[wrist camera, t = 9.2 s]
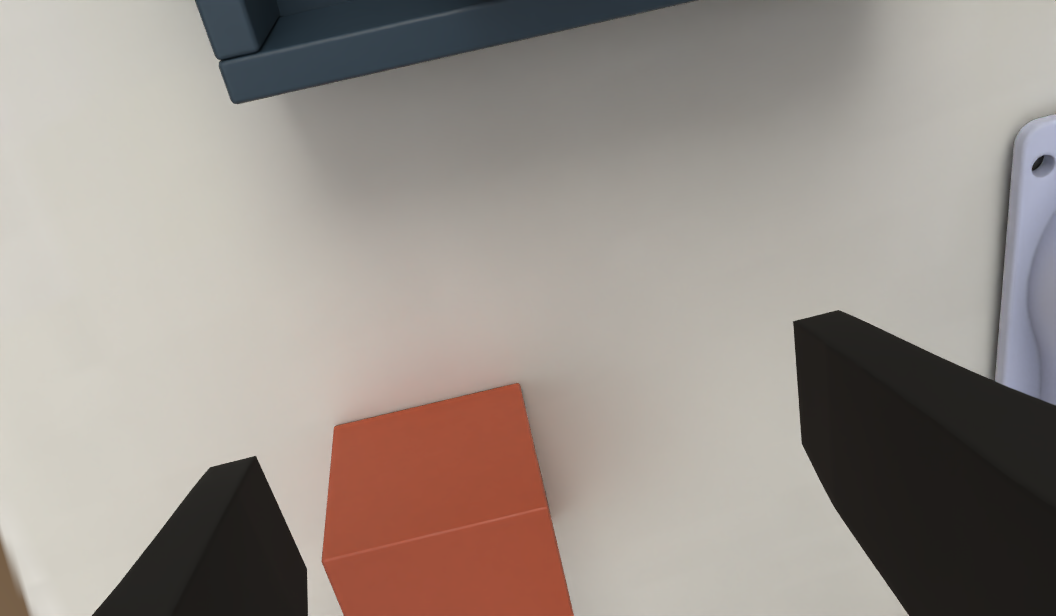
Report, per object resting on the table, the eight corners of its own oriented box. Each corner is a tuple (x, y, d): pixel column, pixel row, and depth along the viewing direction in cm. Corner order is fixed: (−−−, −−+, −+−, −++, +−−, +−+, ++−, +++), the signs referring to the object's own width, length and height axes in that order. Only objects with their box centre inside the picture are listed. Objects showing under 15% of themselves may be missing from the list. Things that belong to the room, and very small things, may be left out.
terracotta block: (552, 521, 24) (584, 661, 20) (383, 562, 23) (382, 710, 20) (519, 381, 21) (548, 507, 17) (333, 425, 21) (320, 561, 17)
